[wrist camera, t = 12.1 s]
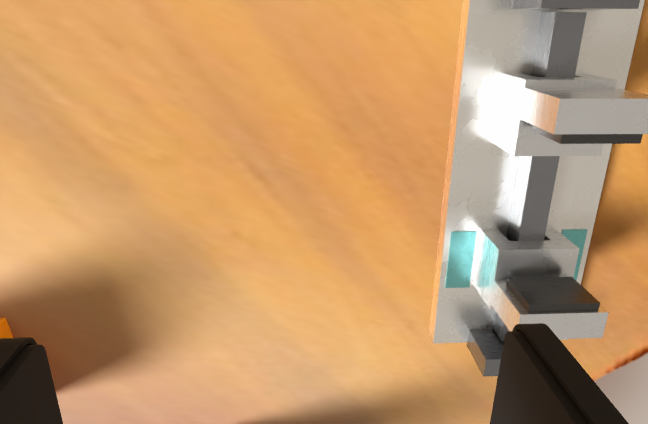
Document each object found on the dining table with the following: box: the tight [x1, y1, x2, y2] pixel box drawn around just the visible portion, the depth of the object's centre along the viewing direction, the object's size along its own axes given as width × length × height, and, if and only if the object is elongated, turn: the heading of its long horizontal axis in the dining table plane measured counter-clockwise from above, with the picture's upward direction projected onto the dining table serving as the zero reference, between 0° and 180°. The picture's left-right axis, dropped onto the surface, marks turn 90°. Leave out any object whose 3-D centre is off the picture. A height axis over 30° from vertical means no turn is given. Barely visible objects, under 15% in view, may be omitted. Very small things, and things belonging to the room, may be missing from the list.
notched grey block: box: [474, 230, 609, 339], centre depth 36 cm, size 5×6×8 cm
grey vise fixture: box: [429, 0, 648, 376], centre depth 35 cm, size 29×12×10 cm, turn 179°
